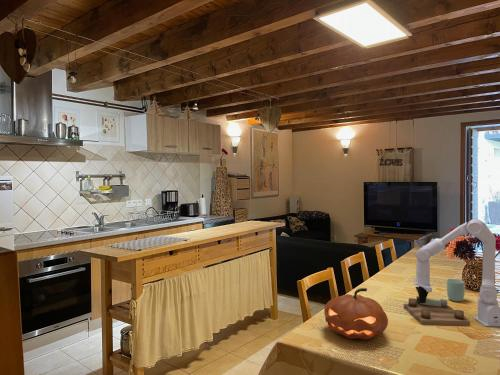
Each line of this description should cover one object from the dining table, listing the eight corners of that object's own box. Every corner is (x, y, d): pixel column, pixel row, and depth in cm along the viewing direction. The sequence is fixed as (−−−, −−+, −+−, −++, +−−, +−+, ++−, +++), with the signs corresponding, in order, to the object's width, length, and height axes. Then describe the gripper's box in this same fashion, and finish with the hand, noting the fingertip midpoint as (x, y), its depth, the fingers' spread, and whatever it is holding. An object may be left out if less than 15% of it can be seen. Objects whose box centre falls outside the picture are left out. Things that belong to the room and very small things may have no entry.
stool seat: (470, 325, 153) (470, 314, 152) (421, 324, 154) (421, 313, 153) (446, 308, 173) (446, 298, 172) (403, 307, 174) (403, 297, 173)
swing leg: (446, 305, 170) (447, 299, 170) (447, 307, 168) (447, 301, 167) (416, 301, 176) (416, 295, 176) (416, 303, 173) (416, 297, 173)
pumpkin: (313, 338, 141) (313, 289, 140) (334, 316, 162) (334, 274, 162) (380, 354, 128) (381, 301, 127) (393, 328, 149) (394, 283, 149)
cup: (466, 303, 179) (467, 283, 179) (449, 302, 181) (450, 282, 181) (461, 298, 187) (461, 279, 187) (444, 297, 189) (444, 278, 188)
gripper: (408, 269, 178) (407, 297, 179) (420, 278, 164) (420, 307, 164) (423, 270, 178) (422, 297, 178) (436, 278, 163) (436, 308, 164)
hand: (422, 302), depth 171 cm, fingers closed, pressing on swing leg
